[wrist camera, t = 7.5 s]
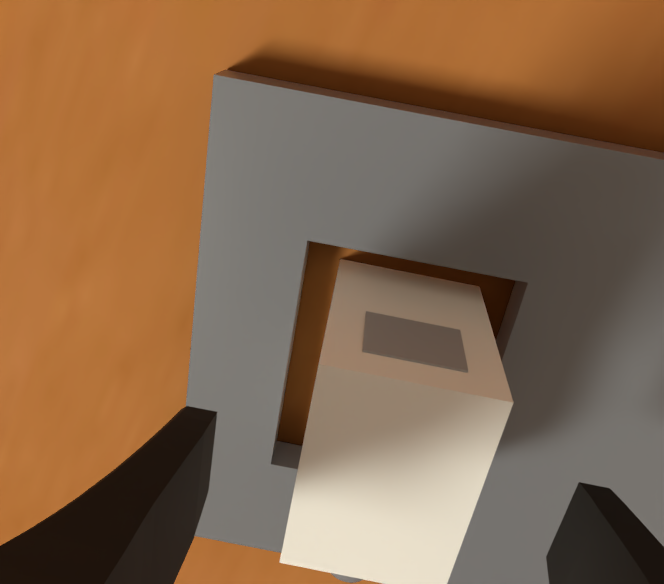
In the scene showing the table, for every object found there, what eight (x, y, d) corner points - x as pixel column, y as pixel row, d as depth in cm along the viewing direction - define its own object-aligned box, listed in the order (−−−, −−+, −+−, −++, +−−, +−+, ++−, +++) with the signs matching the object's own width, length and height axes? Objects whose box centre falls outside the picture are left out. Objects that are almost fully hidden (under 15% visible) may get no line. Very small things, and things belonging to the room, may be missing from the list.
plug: (411, 506, 19) (416, 667, 14) (295, 483, 19) (264, 636, 14) (480, 283, 16) (514, 400, 11) (340, 256, 16) (319, 361, 11)
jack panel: (954, 657, 19) (991, 700, 18) (185, 507, 20) (172, 539, 18) (1308, 274, 14) (1393, 301, 13) (225, 69, 14) (210, 76, 13)
